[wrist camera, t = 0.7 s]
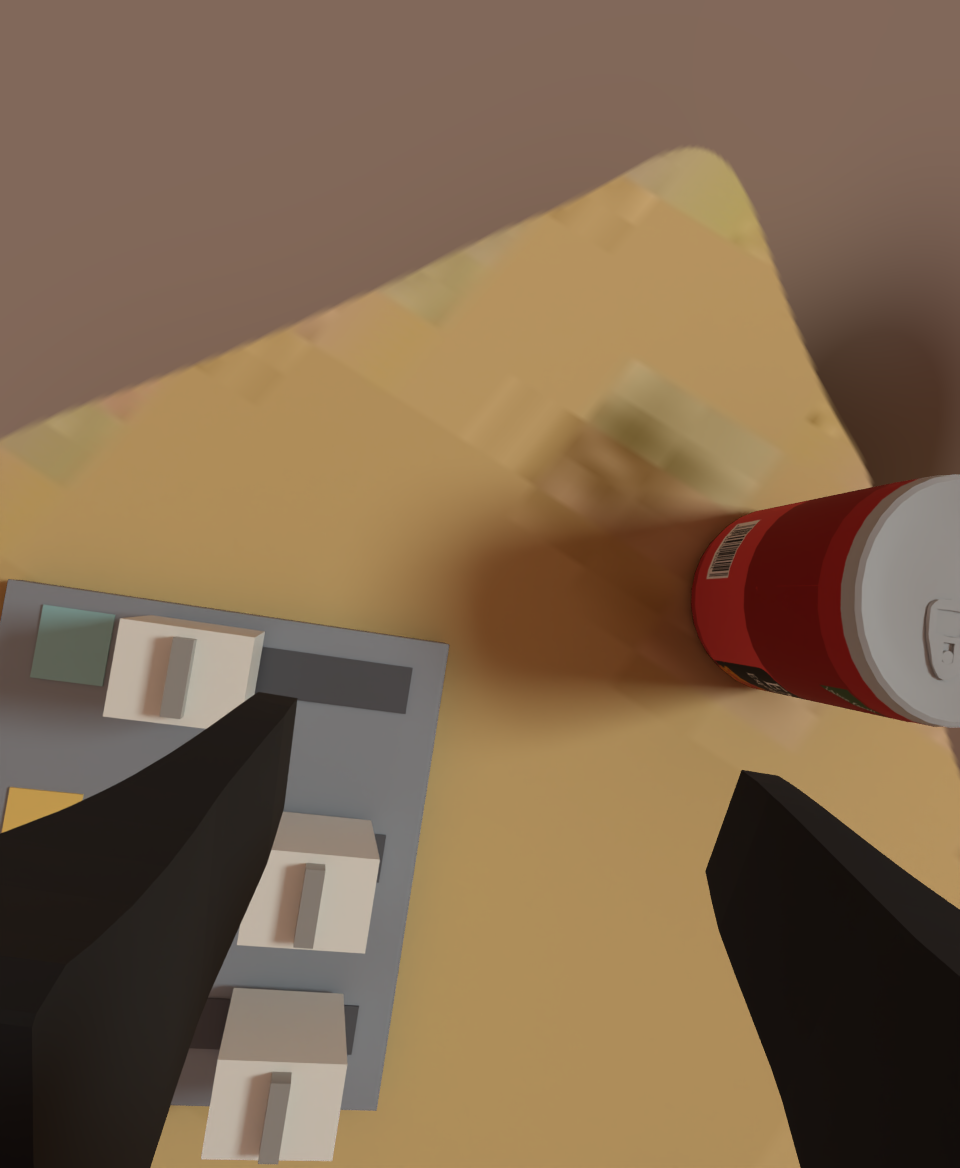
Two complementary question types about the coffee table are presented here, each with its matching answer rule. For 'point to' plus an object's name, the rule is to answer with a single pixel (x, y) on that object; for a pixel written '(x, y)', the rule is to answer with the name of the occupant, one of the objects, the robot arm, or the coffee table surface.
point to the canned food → (842, 600)
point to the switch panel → (315, 781)
